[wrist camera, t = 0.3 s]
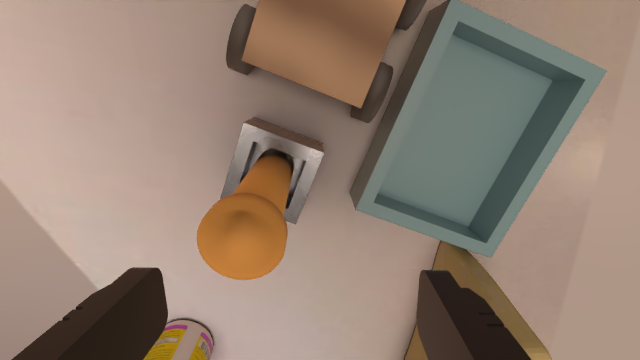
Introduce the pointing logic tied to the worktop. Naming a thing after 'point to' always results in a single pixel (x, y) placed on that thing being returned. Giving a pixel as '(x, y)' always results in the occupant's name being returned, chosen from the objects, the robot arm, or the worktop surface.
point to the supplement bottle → (182, 342)
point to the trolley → (323, 45)
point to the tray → (471, 128)
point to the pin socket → (300, 148)
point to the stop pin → (249, 221)
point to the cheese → (483, 284)
